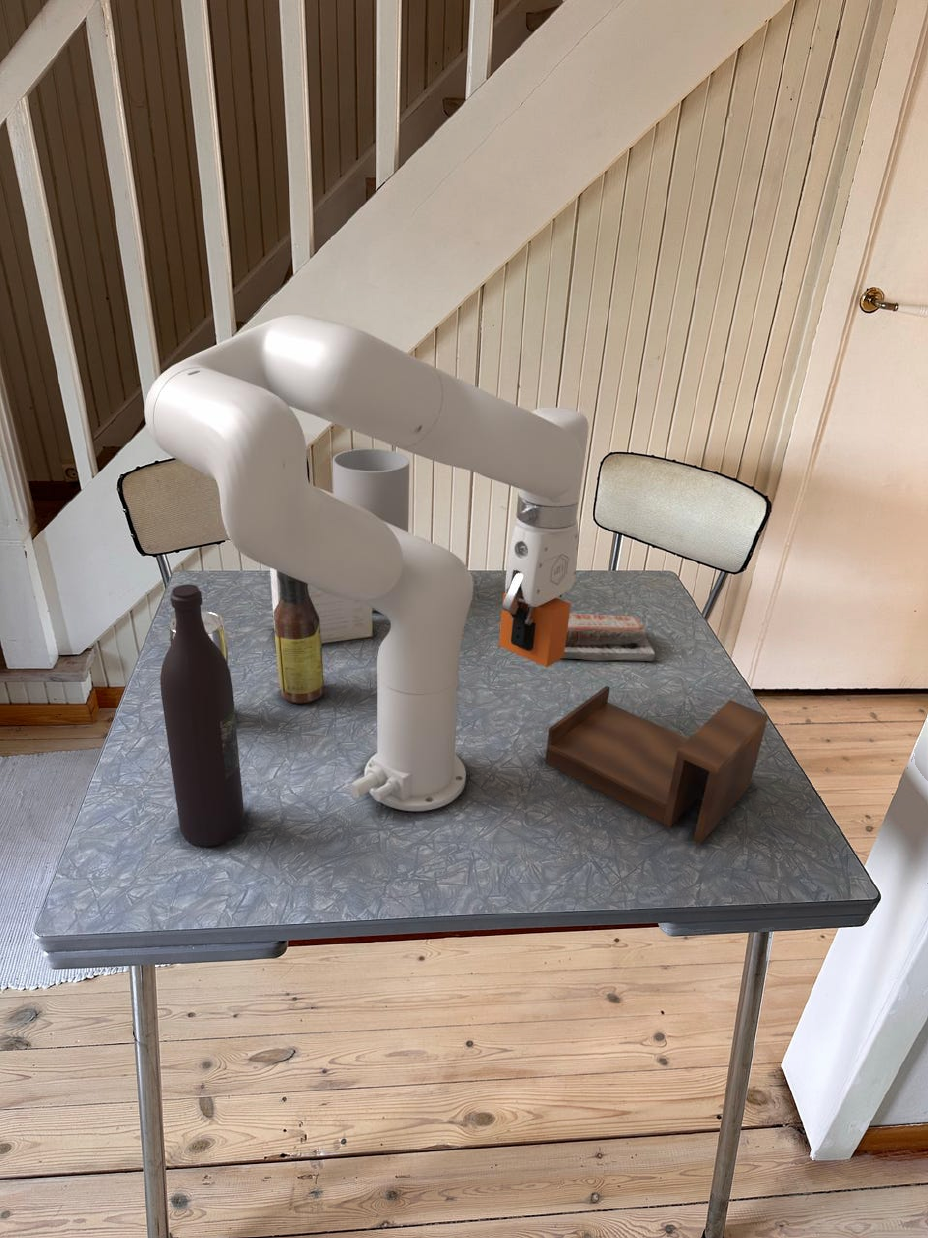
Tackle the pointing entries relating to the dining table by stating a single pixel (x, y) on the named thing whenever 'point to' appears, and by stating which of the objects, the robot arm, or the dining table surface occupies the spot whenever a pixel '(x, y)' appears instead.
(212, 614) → the beer glass
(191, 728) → the wine bottle
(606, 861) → the dining table surface
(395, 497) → the cylinder vase
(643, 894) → the dining table surface
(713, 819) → the shelf
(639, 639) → the packaged product
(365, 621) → the coffeecake box
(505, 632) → the block
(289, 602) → the sauce bottle
